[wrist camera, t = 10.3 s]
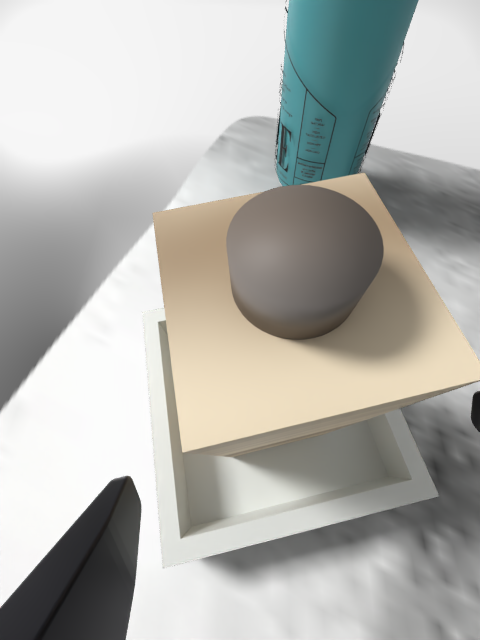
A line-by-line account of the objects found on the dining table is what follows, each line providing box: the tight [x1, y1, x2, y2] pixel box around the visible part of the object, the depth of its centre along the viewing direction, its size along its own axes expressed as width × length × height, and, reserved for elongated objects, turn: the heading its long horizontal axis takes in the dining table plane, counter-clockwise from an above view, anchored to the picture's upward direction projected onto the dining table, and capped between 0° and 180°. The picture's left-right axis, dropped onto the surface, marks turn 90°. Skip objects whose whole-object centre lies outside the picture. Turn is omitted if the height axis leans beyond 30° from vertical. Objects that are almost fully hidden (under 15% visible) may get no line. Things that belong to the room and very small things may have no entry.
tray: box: [142, 308, 439, 568], centre depth 16 cm, size 12×12×3 cm
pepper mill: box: [153, 173, 480, 457], centre depth 10 cm, size 5×5×13 cm
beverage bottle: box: [275, 0, 418, 186], centre depth 15 cm, size 6×7×20 cm
